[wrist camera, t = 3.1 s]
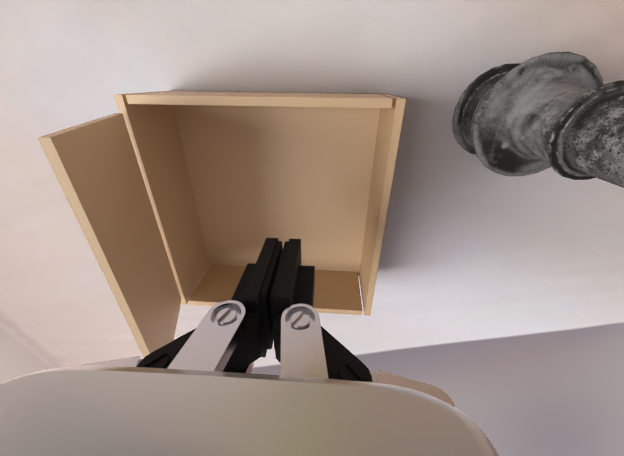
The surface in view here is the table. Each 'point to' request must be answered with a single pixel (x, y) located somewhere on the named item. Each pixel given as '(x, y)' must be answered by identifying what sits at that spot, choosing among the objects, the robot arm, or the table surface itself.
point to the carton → (268, 184)
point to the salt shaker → (545, 119)
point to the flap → (118, 223)
